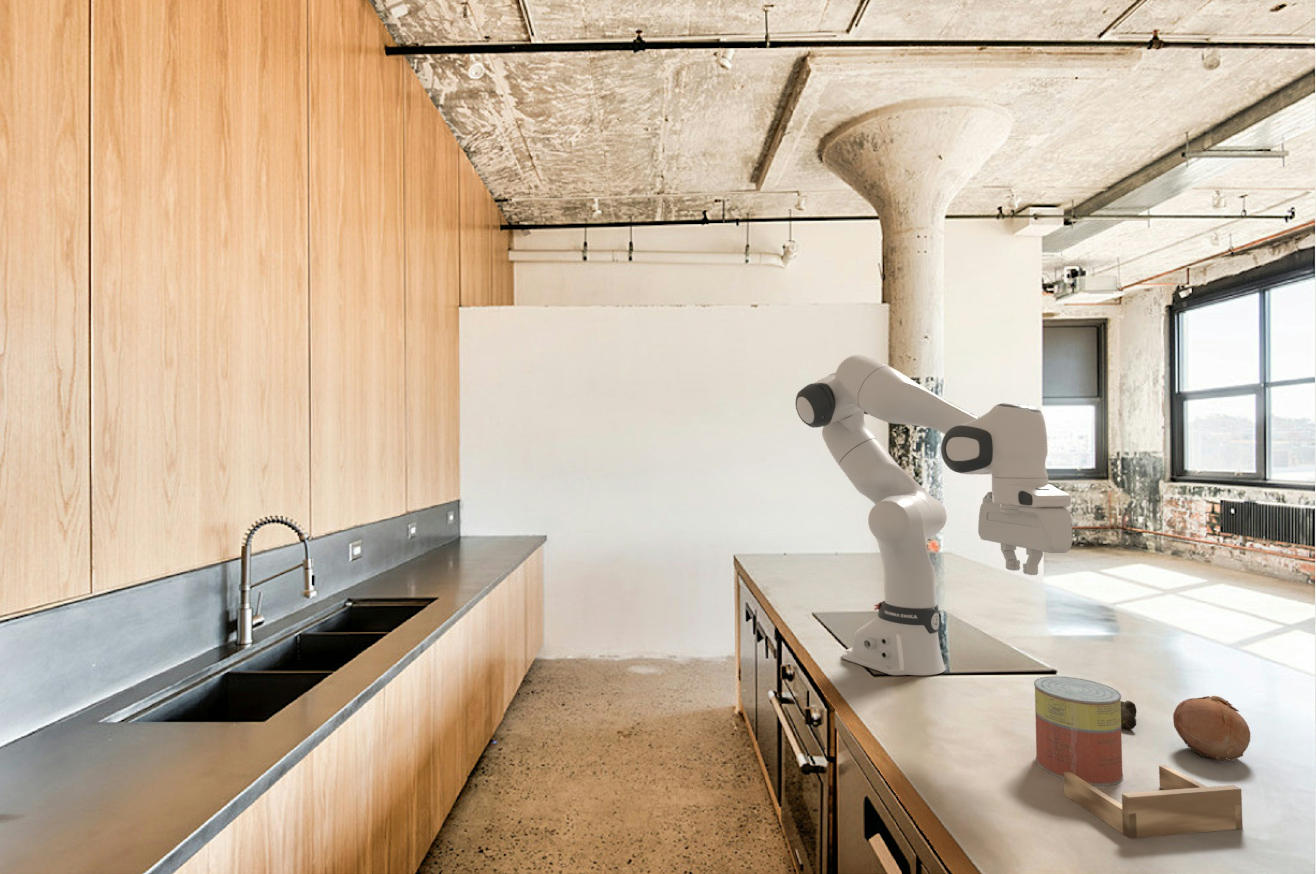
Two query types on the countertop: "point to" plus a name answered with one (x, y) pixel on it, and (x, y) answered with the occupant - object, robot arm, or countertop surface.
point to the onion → (1212, 727)
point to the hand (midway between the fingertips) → (1021, 572)
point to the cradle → (1163, 806)
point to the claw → (1128, 714)
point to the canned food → (1079, 729)
